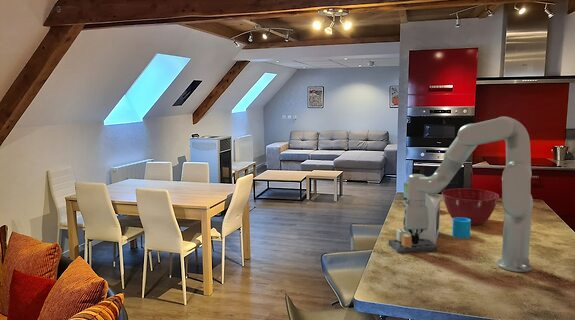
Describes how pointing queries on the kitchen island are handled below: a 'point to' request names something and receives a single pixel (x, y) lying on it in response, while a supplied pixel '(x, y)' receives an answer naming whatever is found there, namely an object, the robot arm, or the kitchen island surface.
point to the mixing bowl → (470, 203)
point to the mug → (461, 227)
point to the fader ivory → (399, 234)
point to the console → (414, 246)
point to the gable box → (431, 218)
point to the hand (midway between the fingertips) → (414, 243)
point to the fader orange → (406, 240)
